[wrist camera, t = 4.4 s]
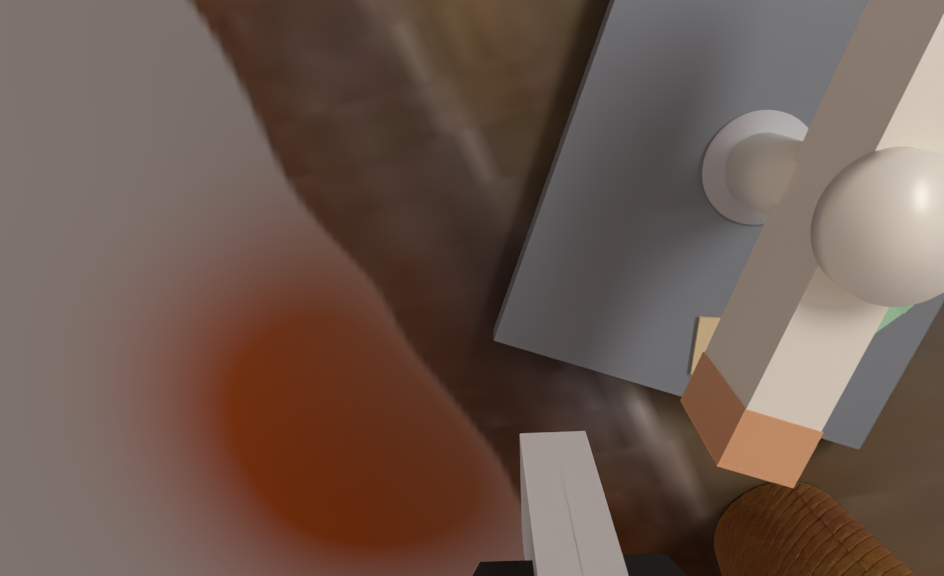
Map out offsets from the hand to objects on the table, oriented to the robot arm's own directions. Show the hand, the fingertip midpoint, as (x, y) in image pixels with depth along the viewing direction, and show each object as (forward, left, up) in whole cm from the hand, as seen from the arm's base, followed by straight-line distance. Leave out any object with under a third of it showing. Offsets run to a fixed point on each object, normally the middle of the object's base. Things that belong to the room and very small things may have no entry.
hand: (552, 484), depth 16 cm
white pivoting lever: (-8, +7, -13) cm, 17 cm away
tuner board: (-7, +8, -15) cm, 18 cm away
